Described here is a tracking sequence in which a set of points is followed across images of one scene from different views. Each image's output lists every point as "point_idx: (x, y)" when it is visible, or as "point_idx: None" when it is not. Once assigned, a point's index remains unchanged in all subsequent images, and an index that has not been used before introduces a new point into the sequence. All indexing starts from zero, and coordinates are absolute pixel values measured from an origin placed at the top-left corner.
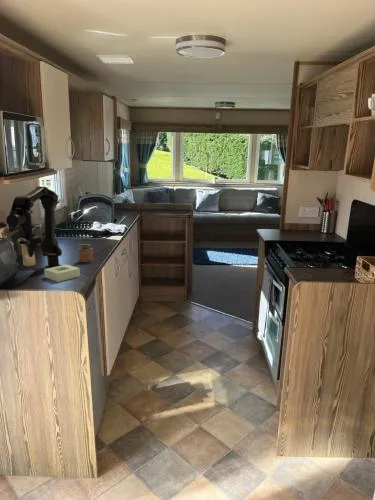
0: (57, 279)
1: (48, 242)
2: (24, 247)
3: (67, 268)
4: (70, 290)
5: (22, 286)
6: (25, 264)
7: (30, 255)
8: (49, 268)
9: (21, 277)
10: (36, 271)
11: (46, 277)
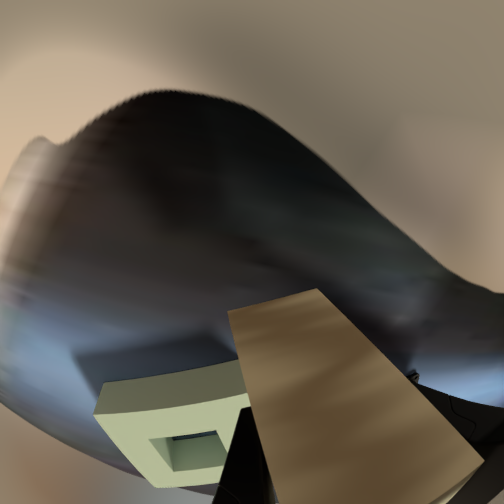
0: (102, 390)
1: None
2: (337, 495)
3: (197, 466)
4: None
5: (114, 194)
6: (274, 305)
7: (238, 429)
8: None
9: (338, 239)
10: (386, 333)
11: (224, 363)
